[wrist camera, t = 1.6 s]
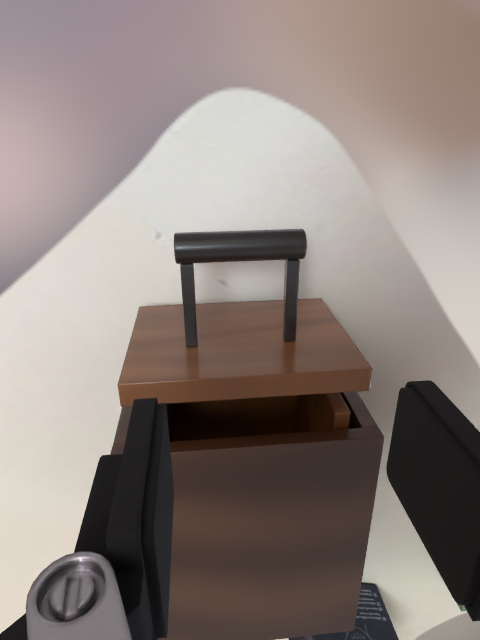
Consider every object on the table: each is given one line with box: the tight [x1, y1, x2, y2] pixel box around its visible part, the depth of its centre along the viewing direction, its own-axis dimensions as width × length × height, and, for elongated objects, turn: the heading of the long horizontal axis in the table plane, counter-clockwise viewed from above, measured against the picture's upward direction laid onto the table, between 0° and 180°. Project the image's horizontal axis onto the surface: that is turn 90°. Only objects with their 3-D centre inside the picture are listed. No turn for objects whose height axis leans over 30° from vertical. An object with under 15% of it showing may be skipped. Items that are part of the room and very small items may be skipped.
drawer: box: [118, 229, 373, 442], centre depth 25 cm, size 19×11×9 cm, turn 1°
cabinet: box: [110, 391, 384, 640], centre depth 28 cm, size 15×13×11 cm
